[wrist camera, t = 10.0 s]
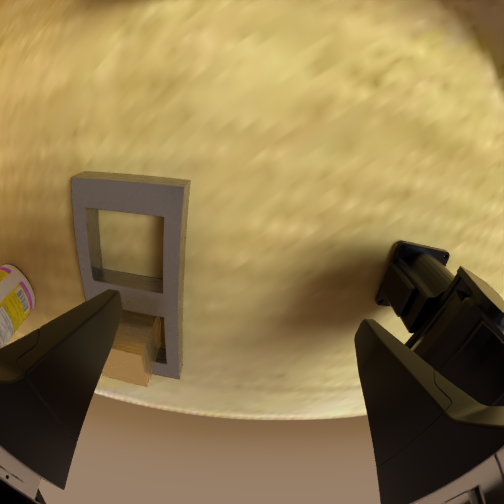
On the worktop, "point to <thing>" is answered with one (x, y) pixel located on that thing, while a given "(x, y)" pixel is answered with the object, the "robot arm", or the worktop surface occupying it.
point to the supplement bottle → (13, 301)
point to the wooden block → (134, 348)
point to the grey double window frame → (130, 285)
